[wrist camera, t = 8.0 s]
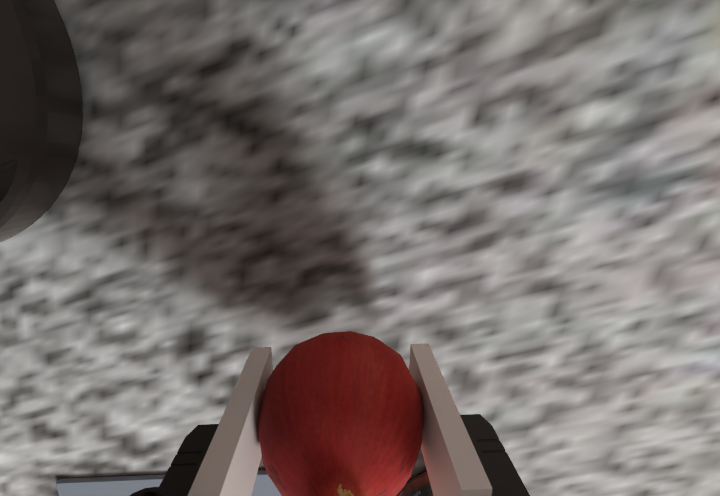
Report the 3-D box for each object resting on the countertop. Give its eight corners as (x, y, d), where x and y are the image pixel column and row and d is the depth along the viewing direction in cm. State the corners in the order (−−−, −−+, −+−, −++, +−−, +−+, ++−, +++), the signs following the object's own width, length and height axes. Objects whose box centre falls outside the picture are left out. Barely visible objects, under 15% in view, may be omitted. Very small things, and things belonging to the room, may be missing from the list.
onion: (380, 419, 17) (411, 634, 10) (265, 393, 17) (200, 605, 9) (420, 316, 16) (494, 474, 8) (296, 283, 15) (250, 423, 8)
